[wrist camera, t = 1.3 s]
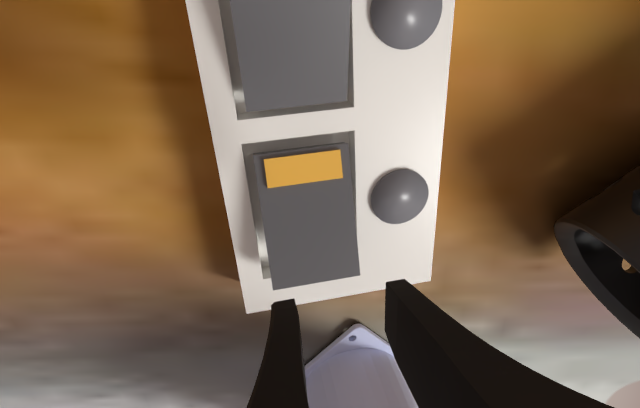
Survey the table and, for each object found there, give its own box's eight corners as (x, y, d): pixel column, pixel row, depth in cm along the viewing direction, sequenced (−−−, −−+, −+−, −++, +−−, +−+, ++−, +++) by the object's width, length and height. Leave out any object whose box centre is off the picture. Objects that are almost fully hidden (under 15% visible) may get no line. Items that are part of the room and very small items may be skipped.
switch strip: (412, 255, 24) (432, 282, 22) (245, 283, 23) (246, 316, 20) (457, -524, 11) (515, -657, 9) (84, -568, 10) (40, -738, 8)
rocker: (354, 267, 19) (361, 276, 18) (271, 281, 19) (273, 292, 18) (343, 142, 18) (349, 143, 17) (252, 153, 17) (253, 155, 16)
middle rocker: (341, 89, 17) (348, 102, 16) (244, 99, 16) (247, 114, 15) (345, -86, 13) (355, -80, 12) (217, -81, 12) (218, -74, 11)
